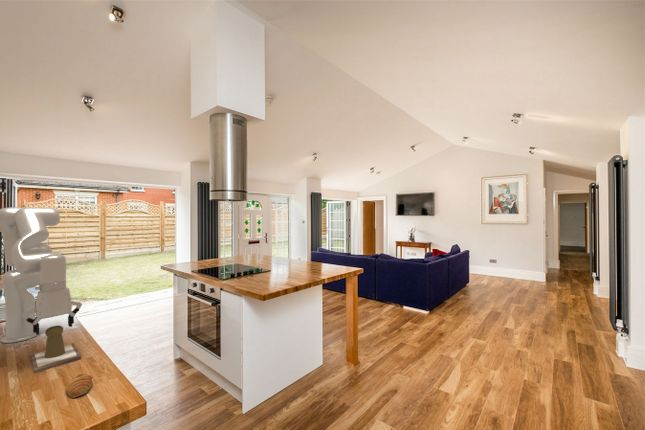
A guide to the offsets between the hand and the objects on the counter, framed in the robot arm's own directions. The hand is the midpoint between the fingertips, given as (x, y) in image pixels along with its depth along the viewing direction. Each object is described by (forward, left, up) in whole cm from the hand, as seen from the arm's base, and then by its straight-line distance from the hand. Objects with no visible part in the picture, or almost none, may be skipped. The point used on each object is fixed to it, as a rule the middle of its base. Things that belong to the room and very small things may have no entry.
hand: (54, 329), depth 116 cm
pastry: (+30, +18, -11) cm, 37 cm away
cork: (0, 0, -10) cm, 10 cm away
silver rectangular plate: (+1, 0, -11) cm, 11 cm away
